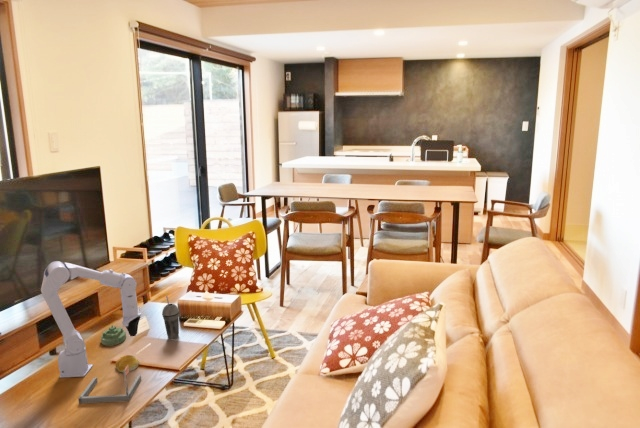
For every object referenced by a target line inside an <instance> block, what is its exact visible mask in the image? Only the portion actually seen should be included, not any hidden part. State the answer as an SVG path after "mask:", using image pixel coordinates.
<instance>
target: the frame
mask: <svg viewBox="0 0 640 428" xmlns="http://www.w3.org/2000/svg"><path fill="white" fill-rule="evenodd" d="M122 373H123V377H124V378H123V379H124V388H125V394H111V395H110V394H109V395H105V394H104V395H91V396H90V393H91V392H92V390H93V389H94V388H95V387H96V385H97V384H98V382H99V381H98V377H97V376H96V377H93V378H92V380H91V381H90V382H89V383H88V385H87V386H86V387H85V389H84V390H83V392H82V393H81V394H80V395H79V397H78V404H80V405H81V404H99V403H118V402H120V403H122V402H130V400H131V399H132V397H133V396H134V393H135V392H136V390H137V388H138V387H139V385H140V384H141V381H142V376H141V374H138V375H136V378H135V380H134V381H133V383H132V385H131V386H130V388H129V389H128V382H127V375H128V373H129V367H128V365H127V367H126V368H125V370H124V371H123V372H122Z"/></svg>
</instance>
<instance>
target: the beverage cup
mask: <svg viewBox="0 0 640 428" xmlns="http://www.w3.org/2000/svg"><path fill="white" fill-rule="evenodd" d="M165 296H166V297H165V299H166V302H167V304H166V305H164V307H163V309H162V313H161V315H162V317H163V321H164V326H165V331H166V336H167V338H168V340H171V341H173V340H177V339H179V337H180V336H179V334H180V333H179V332H180V326H179V324H180V323H179V320H180V310H179V307H178V306H177V305H176V304H174V303H170V302H169V298H168V295H165Z"/></svg>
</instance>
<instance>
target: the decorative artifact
mask: <svg viewBox="0 0 640 428" xmlns="http://www.w3.org/2000/svg"><path fill="white" fill-rule="evenodd" d="M123 328H124V327H121V326H119V327H117V326H114V325H111V326H110V327H108V329H105V330H104V331H103V332H102V334H101V336H100V341H101V344H102V345H104V346H108V347H109V346H111V347H112V346H116V345H119V344H121V343H123V342H125V341H126V340H127V335H126V331H125V330H124V329H123Z"/></svg>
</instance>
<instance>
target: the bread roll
mask: <svg viewBox="0 0 640 428" xmlns="http://www.w3.org/2000/svg"><path fill="white" fill-rule="evenodd" d="M127 365H128V367H129V372H132V371H134V370H136V369H137V368H138V367H139V365H140V360H139V359H138V358H136V356H134V355H129V354H127V355H123V356H121V357H120V358H118V359H117V360H116V361H115V365H114V366H115V369H117V371H118V372H120V373H124V372H123V371H124V370H125V368H126V367H127ZM129 372H128V373H129Z"/></svg>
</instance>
